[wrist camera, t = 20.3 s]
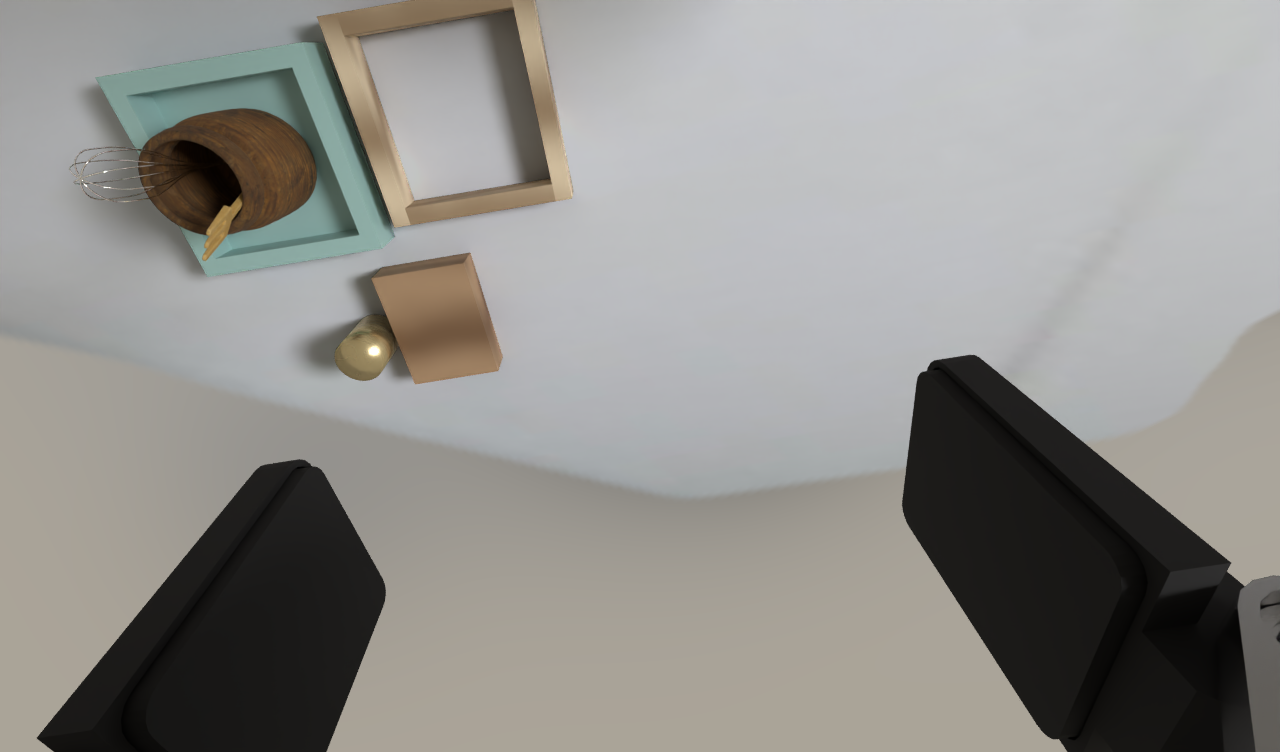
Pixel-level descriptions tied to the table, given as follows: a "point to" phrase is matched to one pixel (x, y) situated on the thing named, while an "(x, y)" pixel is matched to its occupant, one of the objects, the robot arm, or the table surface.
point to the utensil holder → (223, 172)
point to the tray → (301, 97)
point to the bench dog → (367, 348)
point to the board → (439, 317)
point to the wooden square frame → (341, 33)
